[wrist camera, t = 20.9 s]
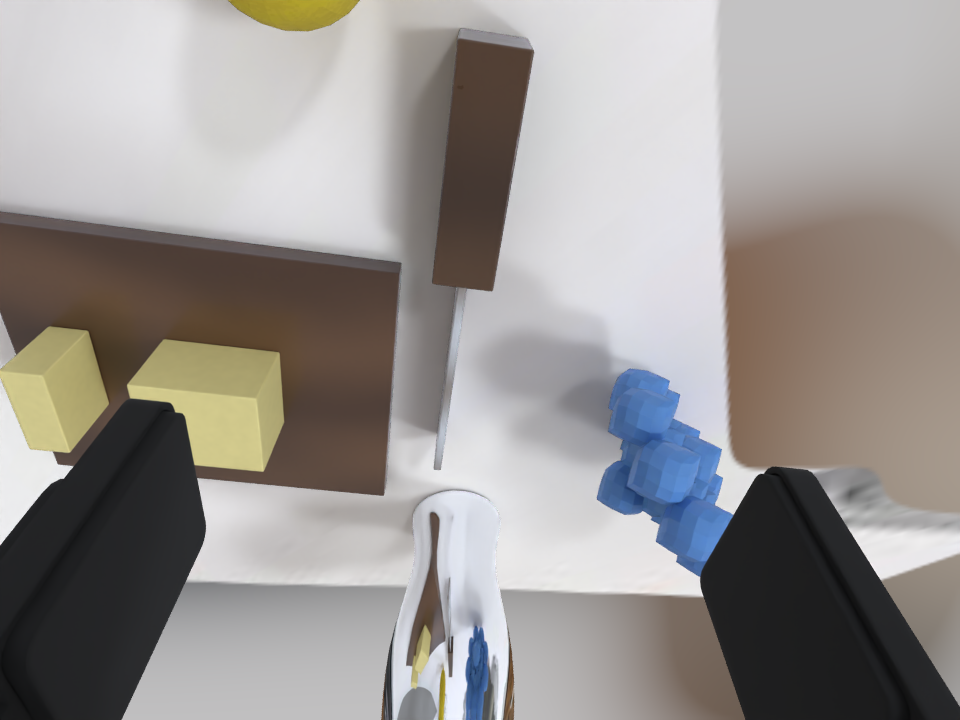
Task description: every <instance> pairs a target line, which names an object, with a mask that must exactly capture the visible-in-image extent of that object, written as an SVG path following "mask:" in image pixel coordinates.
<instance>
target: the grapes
mask: <svg viewBox="0 0 960 720" xmlns="http://www.w3.org/2000/svg"><path fill="white" fill-rule="evenodd" d="M669 382H670V381H669V380H667V379H665V378H662V377H660V376H658V375H656V374H654V373H651V372H649V371H645V370H638V369H628V370H627V371H625V372H624V373H622V374H621V375H620V376H619V377H618V378H617V381H616V383H615V385H614V387H613V391H612V395H611V399H610V403H609V409H611V410H612V411H613V412H612V416H611V420H610V424H609V429H608V432H610V433H611V434H613V435H615V436H617V437H618V438H620V439H623V441H622V445H621V448H620V449H621V450H623V452H622V457H621V461H616V462H615V463H613V464H612V465H611V466H609V467H608V468H607V469H606V470H605V473H604V475H603V477H602V480H601V483H600V486H599V491H598V495H597V500H598V501H600V502H602V503H603V504H605V505H606V506H608V507H610V508H611V509H613V510H615V511H618V512H620V513H622V514H624V515H632V514H638V513H641V512H642V511H644V512H646V513H647V514H649V515H650V516H652V519H651V520H652V521H654V522H656V523H658V524H660V526H659V529H658V534H657V538H656V542H657V543H659V544H660V545H662V546H663V547H665V548H666V549H668V550H669V551H671V552H673V553H675V554H676V555H678V556H677V561H676V562H677V563H679V564H680V565H682V566H683V567H685V568H686V569H688V570H689V571H691V572H693V573H694V574H696V575H698V576H701V571H702V569H703V567H704V565H705V563H706V562H707V560H708V558H709V556H710V555H711V553H712V551H713V550H714V548H715V546H716V544H717V543H718V541H719V539H720V538H721V536H722V534H723V532H724V531H725V529H726V527H727V526H728V524H729V522H730V520H731V519H732V517H733V514H731V513H729V512H727V511H725V510H723V509H721V508H719V507H718V506H715V502H716V500H717V498H718V495H719V492H720V488H721V484H722V480H723V478H722V477H720V476H719V475H717V474H715V473H716V470H717V466H718V463H719V460H720V455H721V451H722V449H720V448H718V447H716V446H714V445H712V444H711V443H708V442H706V441H704V440H702V439H699V434H700V431H698V430H696V429H694V428H692V427H690V426H688V425H686V424H683V423H681V422H679V421H677V420H675V419H673V417H674V414H675V411H676V409H677V406H678V402H679V397H680V395H679V394H677V393H675V392H673V391H671V390H669V389H668V386H669Z"/></svg>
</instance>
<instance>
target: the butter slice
mask: <svg viewBox="0 0 960 720" xmlns="http://www.w3.org/2000/svg"><path fill="white" fill-rule="evenodd" d="M0 378H1V381H2V383H3V386H4V388H5V390H6V393H7V395H8V398H9V400H10V402H11V405H12V407H13V410H14V412H15V415H16V417H17V419H18V422H19V424H20V427H21V429H22V432H23V434H24V436H25V439H26V441H27V444H28V446H29V448H30V449H34V450H44V451H55V452H65V453H70V452H71V451H72V449H73V448H74V447H75V446H76V444H77V443H78V442H79V441H80V440H81V438H82V437H83V436H84V435H85V433H86V432H87V431H88V430H89V428H90V427H91V426H92V425H93V423H94V422H95V421H96V420H97V418H98V417H99V416H100V415H101V414H102V412H103V411H104V410H105V409H106V407H107V406H108V405H109V401H108V398H107V394H106V391H105V387H104V384H103V380H102V377H101V373H100V370H99V366H98V363H97V359H96V356H95V352H94V349H93V346H92V342H91V339H90V335H89V332H88V331H86V330H78V329H69V328H60V327H51V326H50V327H48V328H46V329H45V330H44V331H43V332H42V333H41V334H40V335H39V336H37V337H36V338H35V339H34V340H33V341H32V342H31V343H29V344H28V345H27V346H26V347H25V348H24V349H23V350H22V351H20V352H19V353H18V354H17V355H16V356H15V357H14V358H13V359H11V360H10V361H9V362H8V363H7V364H6V365H5V366H3V367H2V368H1V369H0Z"/></svg>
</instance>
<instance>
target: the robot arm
mask: <svg viewBox="0 0 960 720" xmlns="http://www.w3.org/2000/svg"><path fill="white" fill-rule="evenodd" d="M205 532H206V522H205V517H204V512H203V507H202V501H201V496H200V491H199V486H198V481H197V476H196V470H195V465H194V460H193V455H192V450H191V445H190V439H189V434H188V429H187V424H186V419H185V416H184V415H183V413H177V412H175V410H174V407H173V405H172V404H171V403H169V402H162V401H153V400H143V399H134V398H130V399H128V400H126V401H125V402H124V403H123V404H122V405H121V406H120V408H119V409H118V410H117V411H116V413H115V414H114V415H113V417H112V418H111V419H110V420H109V422H108V423H107V424H106V426H105V427H104V428H103V429H102V431H101V432H100V433H99V435H98V436H97V437H96V438H95V440H94V441H93V442H92V444H91V445H90V446H89V447H88V449H87V450H86V451H85V453H84V454H83V455H82V456H81V458H80V459H79V460H78V461H77V463H76V464H75V465H74V467H73V468H72V469H71V470H70V472H69V473H68V474H67V476H66V477H65V478H64V479H59V480H58V481H56V482H54V483H52V484H51V485H50V486H49V487H48V488H47V489H46V490H45V491H44V492H43V493H42V494H41V495H40V496H39V498H38V499H37V500H36V501H35V503H34V504H33V505H32V506H31V508H30V509H29V510H28V511H27V513H26V514H25V515H24V516H23V518H22V519H21V520H20V521H19V523H18V524H17V525H16V526H15V528H14V529H13V530H12V531H11V533H10V534H9V535H8V536H7V538H6V539H5V540H4V541H3V543H2V544H1V545H0V720H121V719H122V718H123V715H124V713H125V711H126V709H127V707H128V704H129V702H130V700H131V698H132V696H133V694H134V692H135V690H136V687H137V685H138V683H139V681H140V679H141V677H142V674H143V672H144V670H145V668H146V666H147V663H148V662H149V659H150V657H151V655H152V653H153V651H154V649H155V646H156V644H157V642H158V640H159V638H160V636H161V633H162V631H163V629H164V627H165V625H166V622H167V621H168V618H169V616H170V614H171V612H172V610H173V608H174V605H175V603H176V601H177V599H178V597H179V595H180V592H181V590H182V588H183V586H184V584H185V582H186V580H187V577H188V575H189V573H190V571H191V569H192V567H193V564H194V562H195V560H196V558H197V556H198V554H199V552H200V549H201V547H202V545H203V541H204V538H205ZM700 584H701V590H702V593H703V596H704V599H705V602H706V605H707V608H708V611H709V614H710V617H711V620H712V622H713V626H714V628H715V631H716V634H717V637H718V640H719V643H720V646H721V649H722V652H723V655H724V658H725V660H726V664H727V666H728V669H729V672H730V675H731V678H732V681H733V684H734V687H735V690H736V693H737V696H738V699H739V702H740V705H741V707H742V711H743V714H744V716H745V720H960V706H959V705H958V703H957V702H956V700H955V699H954V697H953V695H952V694H951V692H950V690H949V689H948V687H947V686H946V684H945V682H944V681H943V679H942V678H941V676H940V675H939V673H938V672H937V670H936V668H935V666H934V665H933V663H932V662H931V660H930V659H929V657H928V655H927V654H926V652H925V651H924V649H923V647H922V646H921V644H920V643H919V641H918V639H917V638H916V636H915V635H914V633H913V631H912V630H911V628H910V627H909V625H908V623H907V622H906V620H905V619H904V617H903V616H902V614H901V612H900V611H899V609H898V608H897V606H896V604H895V603H894V601H893V600H892V598H891V596H890V595H889V593H888V592H887V590H886V588H885V587H884V585H883V584H882V582H881V580H880V579H879V577H878V576H877V574H876V572H875V571H874V569H873V568H872V566H871V564H870V563H869V561H868V560H867V558H866V556H865V555H864V553H863V552H862V550H861V548H860V547H859V545H858V544H857V542H856V540H855V539H854V537H853V536H852V534H851V533H850V531H849V529H848V528H847V526H846V525H845V523H844V521H843V520H842V518H841V517H840V515H839V513H838V512H837V510H836V509H835V507H834V505H833V504H832V502H831V501H830V499H829V497H828V496H827V494H826V493H825V491H824V489H823V488H822V486H821V485H820V483H819V481H818V480H817V478H816V477H815V476H814V475H813V473H812V472H810V471H808V470H803V469H794V468H784V467H771V468H769V469H767V471H766V472H765V473H764V474H759V475H758V476H757V477H756V478H755V479H754V481H753V483H752V484H751V486H750V488H749V490H748V491H747V493H746V495H745V496H744V498H743V500H742V502H741V503H740V505H739V507H738V508H737V510H736V512H735V514H734V515H733V517H732V519H731V520H730V522H729V524H728V526H727V527H726V529H725V531H724V532H723V534H722V536H721V538H720V539H719V541H718V543H717V544H716V546H715V548H714V550H713V551H712V553H711V555H710V556H709V558H708V560H707V562H706V563H705V565H704V567H703V569H702V571H701V576H700Z"/></svg>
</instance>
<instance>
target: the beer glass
mask: <svg viewBox="0 0 960 720" xmlns="http://www.w3.org/2000/svg"><path fill="white" fill-rule="evenodd" d="M500 526H501V519H500V515H499V512H498V510H497V508H496V507H495V506H494V505H493V504H492V503H491V502H490V501H489V500H487V499H486V498H484V497H482V496H480V495H478V494H475V493H472V492H467V491H458V490H453V491H444V492H440V493H436V494H434V495H431V496H429V497H427V498H426V499H424V500H423V501H422V502H421V503H420V504H419V505H418V506H417V507H416V509H415V511H414V514H413V519H412V527H413V537H414V563H413V568H412V573H411V576H410V580H409V583H408V587H407V590H406V593H405V596H404V599H403V602H402V605H401V609H400V612H399V615H398V618H397V622H396V625H395V629H394V633H393V637H392V641H391V645H390V649H389V654H388V661H387V667H386V674H385V682H384V692H383V703H382V719H381V720H514V674H513V661H512V650H511V644H510V638H509V632H508V626H507V621H506V617H505V612H504V607H503V603H502V598H501V594H500V589H499V584H498V579H497V574H496V549H497V543H498V538H499V533H500Z"/></svg>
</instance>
